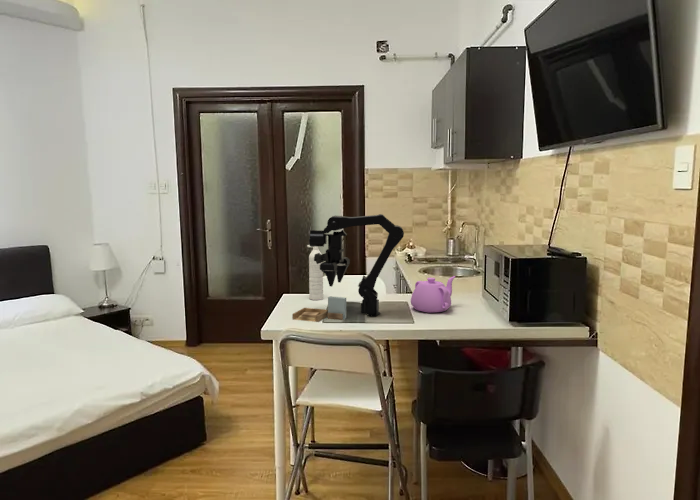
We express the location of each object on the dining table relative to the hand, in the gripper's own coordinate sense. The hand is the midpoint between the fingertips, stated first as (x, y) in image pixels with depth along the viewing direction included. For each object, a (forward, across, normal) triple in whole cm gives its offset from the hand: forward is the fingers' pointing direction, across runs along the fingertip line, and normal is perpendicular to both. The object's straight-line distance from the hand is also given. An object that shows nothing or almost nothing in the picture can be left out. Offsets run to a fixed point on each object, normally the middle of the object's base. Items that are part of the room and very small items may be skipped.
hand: (335, 284), depth 214 cm
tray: (+12, +11, -6) cm, 18 cm away
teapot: (+13, -23, +37) cm, 45 cm away
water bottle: (+13, -24, -20) cm, 34 cm away
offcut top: (+11, +13, -6) cm, 18 cm away
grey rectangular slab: (+13, +8, +4) cm, 15 cm away
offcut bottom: (+12, +12, -6) cm, 18 cm away
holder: (+12, +8, +4) cm, 15 cm away
